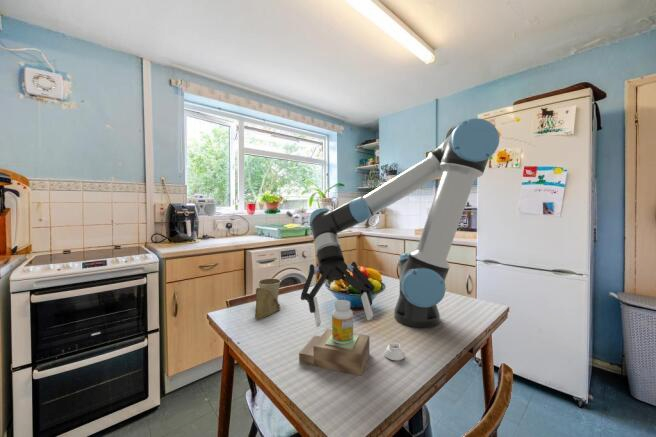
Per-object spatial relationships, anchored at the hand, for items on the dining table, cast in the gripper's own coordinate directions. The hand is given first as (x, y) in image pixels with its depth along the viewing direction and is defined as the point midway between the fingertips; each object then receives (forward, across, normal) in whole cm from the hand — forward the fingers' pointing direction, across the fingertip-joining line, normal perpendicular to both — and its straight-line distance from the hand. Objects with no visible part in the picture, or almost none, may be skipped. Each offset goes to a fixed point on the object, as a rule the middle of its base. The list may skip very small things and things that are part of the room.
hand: (345, 321), depth 68 cm
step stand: (+6, +1, -10) cm, 11 cm away
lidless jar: (+8, -14, -8) cm, 18 cm away
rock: (-19, +17, -35) cm, 44 cm away
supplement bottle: (+2, 0, -6) cm, 6 cm away
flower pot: (-28, +16, -44) cm, 55 cm away
